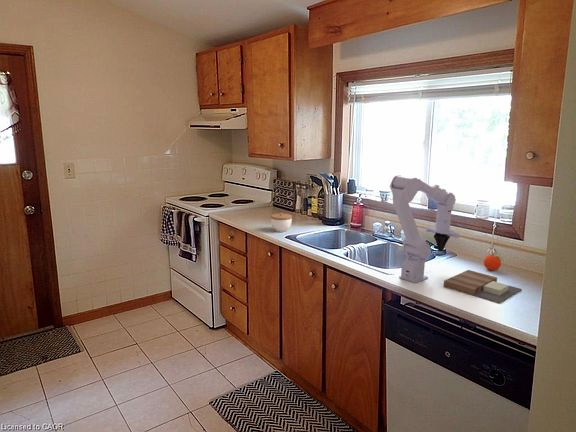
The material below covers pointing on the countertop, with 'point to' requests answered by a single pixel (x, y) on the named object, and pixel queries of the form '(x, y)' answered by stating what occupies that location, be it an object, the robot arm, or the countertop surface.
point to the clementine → (492, 262)
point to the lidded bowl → (281, 222)
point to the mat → (495, 297)
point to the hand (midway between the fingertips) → (440, 250)
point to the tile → (496, 288)
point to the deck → (469, 282)
